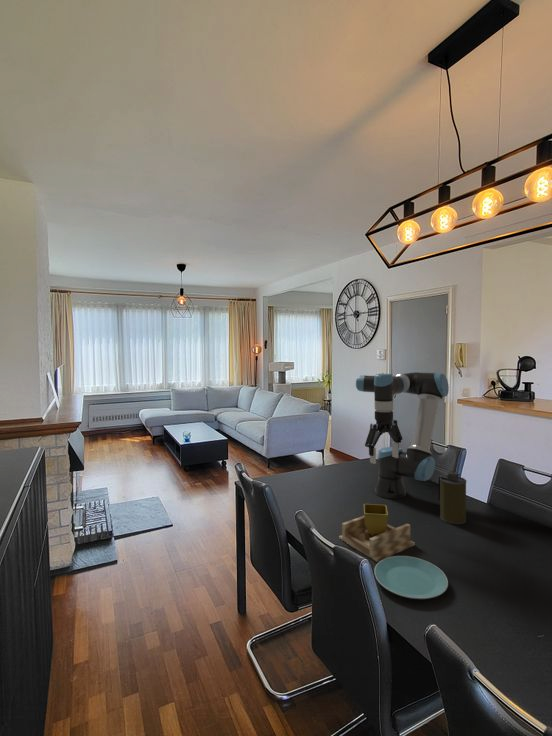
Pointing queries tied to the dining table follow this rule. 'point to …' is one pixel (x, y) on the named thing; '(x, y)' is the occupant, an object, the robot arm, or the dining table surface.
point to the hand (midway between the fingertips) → (384, 460)
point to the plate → (411, 577)
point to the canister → (452, 498)
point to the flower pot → (375, 518)
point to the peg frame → (376, 539)
